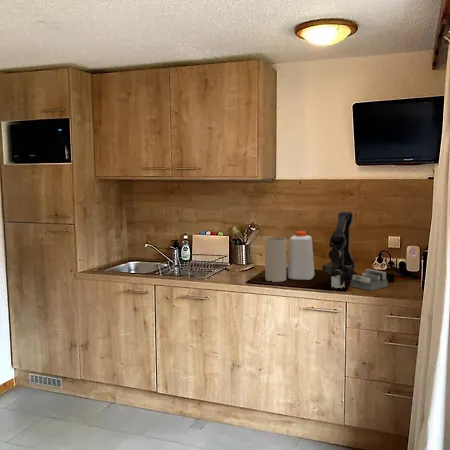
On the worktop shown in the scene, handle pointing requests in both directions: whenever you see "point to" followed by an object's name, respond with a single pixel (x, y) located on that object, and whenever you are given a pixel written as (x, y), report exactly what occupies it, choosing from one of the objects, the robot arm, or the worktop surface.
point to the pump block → (336, 282)
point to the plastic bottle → (301, 257)
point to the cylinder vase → (275, 259)
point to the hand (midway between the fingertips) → (337, 284)
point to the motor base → (370, 280)
